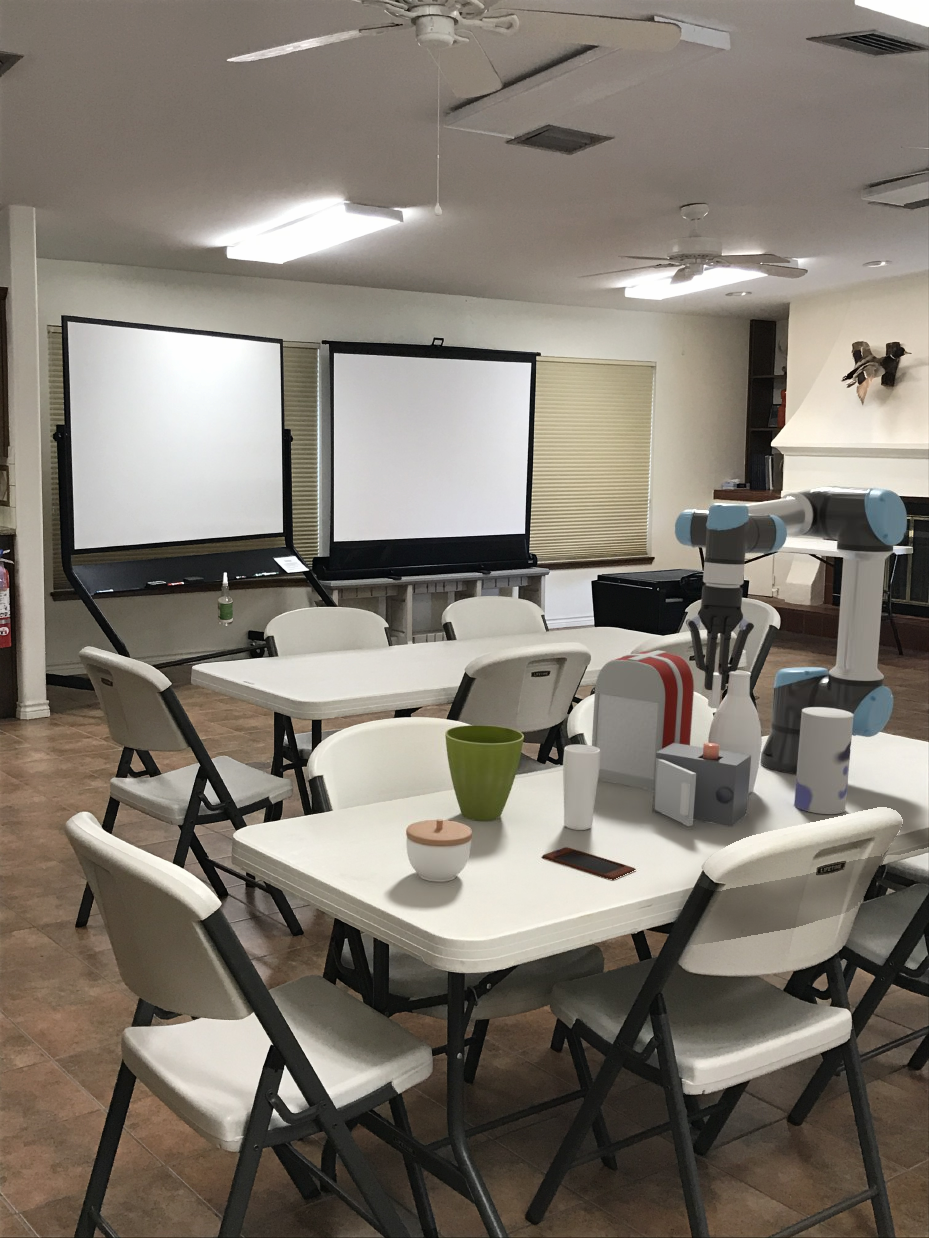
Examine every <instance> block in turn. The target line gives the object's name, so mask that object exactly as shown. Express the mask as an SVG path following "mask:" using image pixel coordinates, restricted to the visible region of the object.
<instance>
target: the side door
mask: <svg viewBox="0 0 929 1238" xmlns="http://www.w3.org/2000/svg"><path fill="white" fill-rule="evenodd" d="M695 785H696V773H694V772H691V771H689V770H687V769H684V768H682V767H679V766H677V765H675V764H672V763H670V762H668V761H665V760H663V759H660V758H657V759H656V771H655V787H654V791H653V795H654V802H653V801H652V810H653V809H655V810H657V811H659V812H661V813H660V814H662V813H663V815H665V816H667V817H670V818H671V819H674V820H675V821H678V822H680V823H682V824H683V825H685V826H687V827H690V826H693V825H694V819H693V813H694V799H695Z"/></svg>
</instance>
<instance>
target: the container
mask: <svg viewBox="0 0 929 1238" xmlns="http://www.w3.org/2000/svg"><path fill="white" fill-rule="evenodd" d="M853 716H854V715H853V714H852V713H850V712H848V711H844V710H840V709H834V708H825V707H809V708H804V709H802V715H801V728H800V740H799V752H798V764H797V774H796V779H795V782H796V783H795V790H794V791H795V792H794V804H793V805H794V806H795V807H797V808H798V809H799V810H802V811H805V812H808V813H809V812H810V813H814V814H822V815H838V814H842V813H845V811H846V809H847V808H846V807H847V805H846V804H847V793H848V784H849V783H848V782H849V772H850V771H849V770H850V761H851V746H852V737H853V735H852V728H853Z"/></svg>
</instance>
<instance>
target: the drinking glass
mask: <svg viewBox="0 0 929 1238" xmlns="http://www.w3.org/2000/svg"><path fill="white" fill-rule="evenodd" d="M563 749H564V750H563V751H564V752H563V759H562V760H563V761H562V781H563V784H562V785H563V825H564V826H565V827H566V828H567V829H570V830H574V831H587V830H589V829H591V828H592V827H593V820H594V812H595V803H596V796H597V790H598V783H599V782H598V781H599V780H598V777H599V769H600V749H599V748H597V747H594V746H592V745H589V744H588V745H586V744H569V745H566V746H565V747H564V748H563Z"/></svg>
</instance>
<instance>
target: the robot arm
mask: <svg viewBox="0 0 929 1238" xmlns="http://www.w3.org/2000/svg"><path fill="white" fill-rule="evenodd" d="M907 521H908V517H907V510H906V507H905V504H904V502H903V500H902V499H901V497H900V495H899V494H898V493H897V492H894V491H893V490H890V489H884V488H883V489H882V488H878V487H853V486H851V487H848V486H837V485H834V486H831V485H830V486H829V485H828V486H822V487H817V488H811V489H805V490H801V491H796V492H789V493H785V494H784V495H783V496H782V497H781V498H780V499H774V500H773V499H772V500H768V501H767V500H765V501H762V502H761V501H760V502H755V503H746V504H739V503H736V504H735V503H715V502H714V503H712V504H711V505H710V506H709V508H708V509H707V510H706V509H705V510H703V509H702V510H701V509H697V508H694V509H685V510H683V511H681V512H680V513H679V514H678V516H677V518H676V520H675V523H674V536H675V538H676V540H677V542H678V543H680V544H681V545H682V546H687V547H691V548H702V549H705V554H704V555H705V556H704V563H703V565H704V567H703V575H702V576H703V577H702V582H703V583H704V585H703V586H702V589H701V601H700V602H701V604H700V609H699V610H698V612H697V615H696V616H694V617H693V618H691V619H690V618H689V619H687V620H685V624H686V626H687V628H688V630H689V632H690V637H691V643H692V644H691V645H692V649H693V654H694V655H693V656H694V661H695V667H696V668H697V669H698V670H700V671H702V672H704V689H705V690H706V691H708V699H707V706H708V707H709V708H711V709H717V708H719V705H720V704H721V702H720V701H721V692H722V691H723V692H724V691H725V690H726V688H727V676H728V675H729V672H735V671H736V670H738V668H739V664H740V662H741V658H742V655H743V652H744V649H745V645H746V643H747V639H748V637H749V634H751V632H752V631H753V629H754V627H755V624H753V623H752V622H750V621H748V620H747V619H745V618H744V613H743V612H742V602H743V601H742V600H743V588H742V587H741V585H743V584H744V578H745V577H744V576H745V563H746V554H762V555H767V554H770V553H775V552H777V551H779V550H781V548H783V547H784V545H785V543H786V541H787V537H788V536H789V537H800V536H804V537H806V536H807V537H813V538H820V539H827V540H834V541H837V542H836V550H837V552H838V553H840V555H841V556H842V558H843V559H842V561H843V562H842V575H841V576H842V577H841V590H840V601H839V602H840V604H839V617H838V633H837V647H836V648H837V650H836V662H835V666H834V667H832V668H831V669H830V670H828V668H825V667H815V666H810V667H809V666H803V667H802V666H797V667H789V668H788V667H787V668H781V669H780V670H778V671H776V673H775V677H774V684H773V687H772V689H773V692H772V693H773V695H772V707H771V723H770V725H771V726H770V732H769V734H768V736H767V739H766V742H765V744H764V746H763V748H762V749H761V753H760V761H759V764H760V765H762V766H763V767H764V768H765V767H766V768H767V769H769V770H774V771H777V772H782V773H788V774H796V775H797V764H798V752H799V740H800V728H801V715H802V709H804V708H809V707H825V708H834V709H840V710H844V711H848V712H850V713H852V714H853V715H854V716H853V728H852V737H856V736H858V737H859V736H860V737H864V738H865V737H867V738H871V737H875V736H877V735H878V734H879V733H880V732H881V731H883V729H884V728H885V726H886V725H887V724H888V721H889V719H890V718H891V716H892V712H893V707H894V695H893V692H892V690H891V689H890V688H889V687H887V686H885V685H884V680H885V679H884V677H885V676H884V674H883V673H882V672H881V671H880V670H879V668H878V660H879V647H880V644H879V643H880V635H881V633H880V632H881V617H882V605H883V592H884V591H883V590H884V579H885V578H884V576H885V562H886V559H888V557H889V556H891V555H892V554H893V553H894V546H895V545H897V544H900V543H901V542H902V540H903V539H904V537H905V536H904V534H906V532H907V525H908V522H907ZM701 624H702V625H703V628H704V629H705V630H706V638H707V639H706V651H705V657H704V650H703V644H702V639H701V633H700V628H701ZM737 626H738V629H739V630H738V633H737V635H736V638H735V641H734V644H733V648H732V652H731V654H730V647H731V646H730V644H731V639H732V633H733V632H734V630H735V629H736V628H737ZM719 637H720V639H719V653H718V667H717V671H718V672H715V667H716V657H717V656H716V655H717V645H718V644H717V641H718V638H719Z"/></svg>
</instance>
